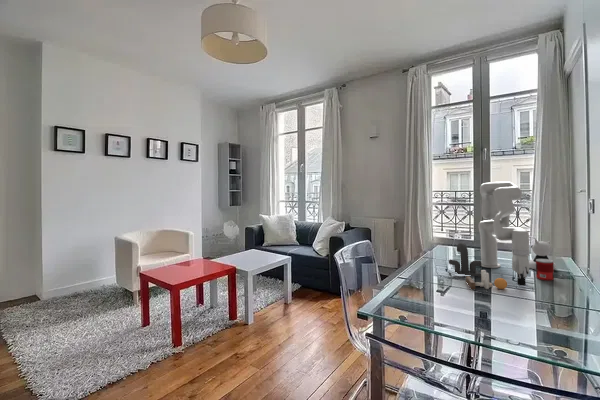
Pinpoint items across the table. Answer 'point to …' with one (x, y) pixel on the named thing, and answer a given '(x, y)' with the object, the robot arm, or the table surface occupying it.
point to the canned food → (545, 269)
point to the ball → (500, 283)
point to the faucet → (465, 262)
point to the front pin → (482, 284)
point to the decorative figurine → (540, 252)
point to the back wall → (470, 282)
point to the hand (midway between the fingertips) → (521, 285)
